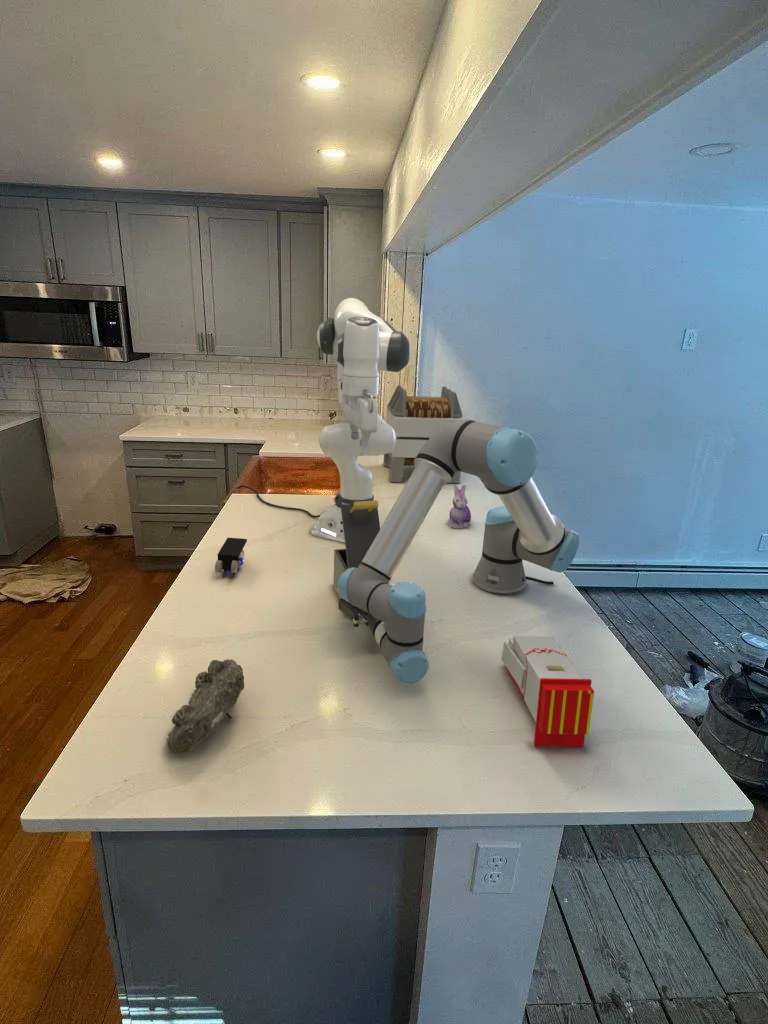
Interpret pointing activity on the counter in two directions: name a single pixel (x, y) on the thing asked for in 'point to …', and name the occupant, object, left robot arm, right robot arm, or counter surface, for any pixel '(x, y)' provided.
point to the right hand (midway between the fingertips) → (363, 586)
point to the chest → (339, 566)
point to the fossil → (206, 705)
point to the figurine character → (230, 556)
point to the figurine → (459, 509)
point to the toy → (550, 690)
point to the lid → (359, 529)
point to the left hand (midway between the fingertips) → (359, 443)
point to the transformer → (417, 426)
